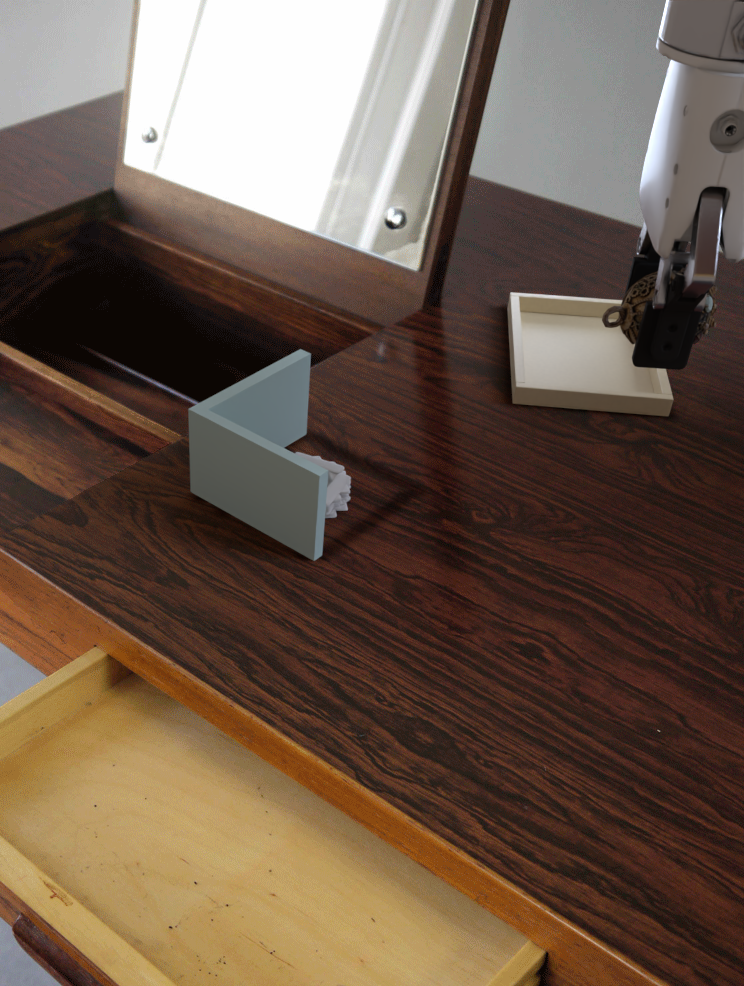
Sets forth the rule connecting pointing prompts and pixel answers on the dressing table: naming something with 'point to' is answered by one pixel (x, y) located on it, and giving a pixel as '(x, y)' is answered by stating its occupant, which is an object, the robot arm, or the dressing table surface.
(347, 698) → the dressing table surface
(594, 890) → the dressing table surface
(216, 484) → the l-shaped corner panel
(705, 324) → the pendant
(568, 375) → the cream shallow tray
